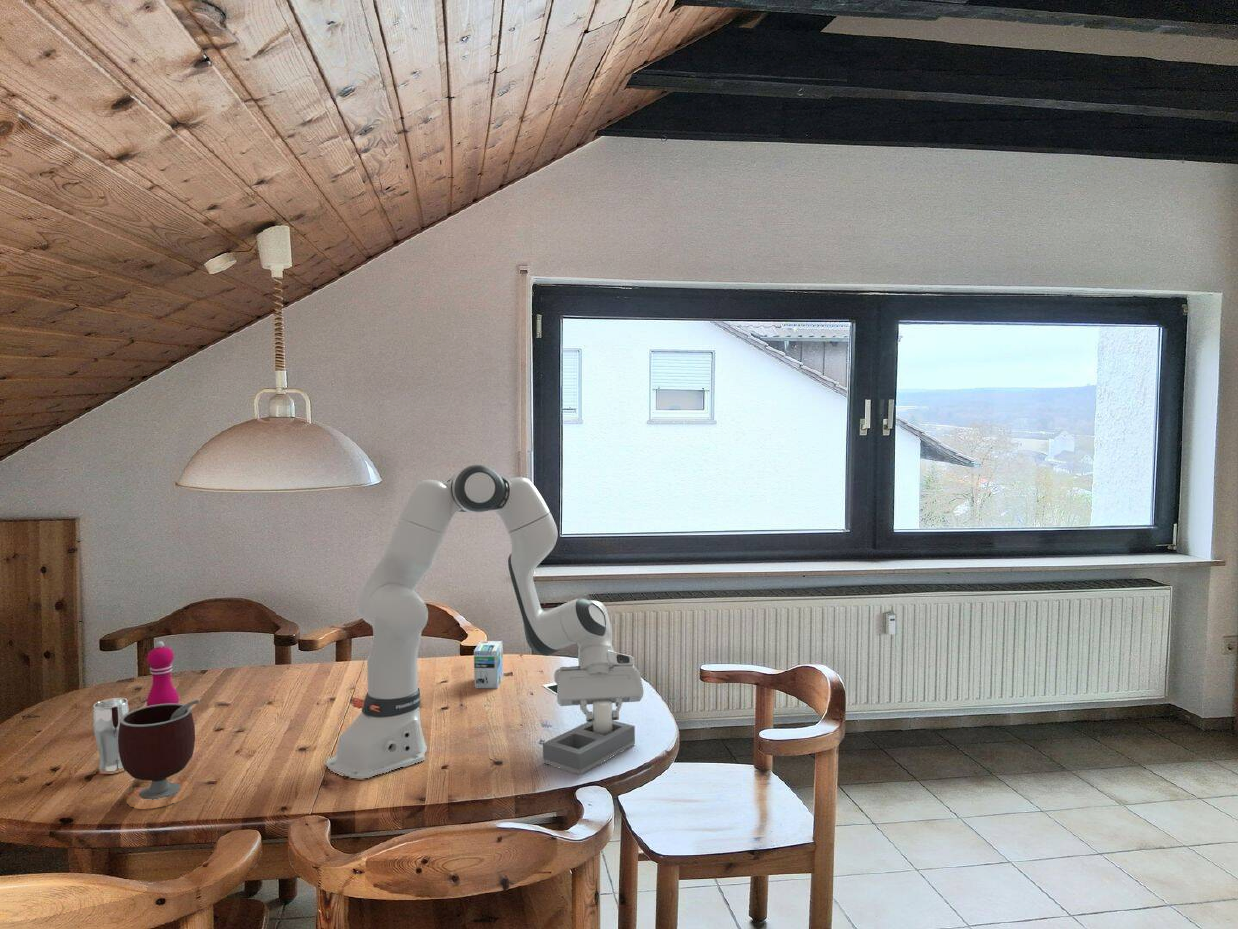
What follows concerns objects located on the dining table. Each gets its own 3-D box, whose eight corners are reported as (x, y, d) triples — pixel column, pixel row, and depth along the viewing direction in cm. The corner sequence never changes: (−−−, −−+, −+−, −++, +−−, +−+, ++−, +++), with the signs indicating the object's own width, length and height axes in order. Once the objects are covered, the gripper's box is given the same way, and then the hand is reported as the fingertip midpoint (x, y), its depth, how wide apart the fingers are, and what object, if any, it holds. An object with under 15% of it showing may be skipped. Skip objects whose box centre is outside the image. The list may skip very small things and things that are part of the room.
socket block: (580, 775, 189) (579, 754, 189) (543, 763, 196) (542, 743, 195) (634, 745, 205) (634, 726, 205) (599, 735, 212) (598, 716, 211)
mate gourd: (106, 812, 175) (101, 712, 173) (144, 781, 189) (139, 689, 187) (185, 811, 175) (180, 711, 173) (217, 780, 189) (212, 688, 187)
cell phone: (566, 682, 253) (566, 680, 253) (593, 698, 239) (593, 696, 239) (541, 687, 249) (541, 685, 249) (567, 704, 235) (567, 701, 235)
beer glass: (108, 763, 199) (104, 697, 197) (139, 763, 198) (135, 697, 197) (88, 776, 192) (85, 708, 190) (120, 776, 191) (116, 708, 190)
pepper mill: (151, 725, 221) (147, 646, 220) (144, 718, 227) (140, 641, 225) (183, 718, 226) (179, 641, 224) (174, 711, 231) (171, 635, 230)
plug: (604, 746, 201) (604, 708, 201) (589, 742, 204) (589, 704, 203) (616, 740, 205) (615, 702, 204) (601, 736, 207) (600, 698, 207)
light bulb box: (498, 689, 246) (497, 650, 246) (473, 689, 247) (472, 651, 246) (503, 677, 257) (503, 640, 256) (480, 677, 257) (479, 640, 256)
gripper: (554, 661, 208) (558, 716, 199) (640, 656, 211) (647, 711, 202) (553, 674, 213) (556, 728, 204) (637, 669, 216) (644, 723, 207)
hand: (602, 720), depth 203 cm, fingers open, 5 cm apart
